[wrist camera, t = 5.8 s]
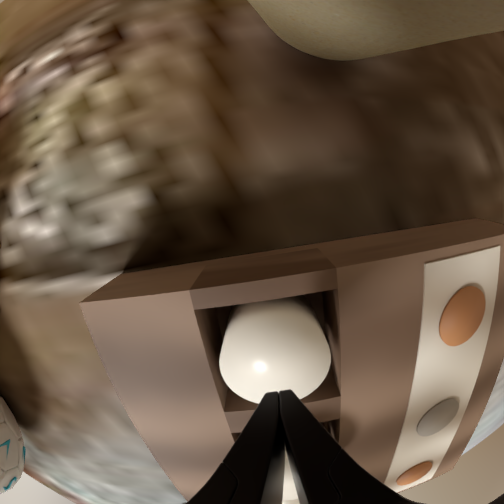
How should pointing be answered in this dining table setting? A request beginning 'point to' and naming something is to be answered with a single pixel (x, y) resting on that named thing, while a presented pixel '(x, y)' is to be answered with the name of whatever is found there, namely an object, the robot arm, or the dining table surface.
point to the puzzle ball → (10, 449)
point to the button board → (338, 338)
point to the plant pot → (376, 24)
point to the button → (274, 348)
